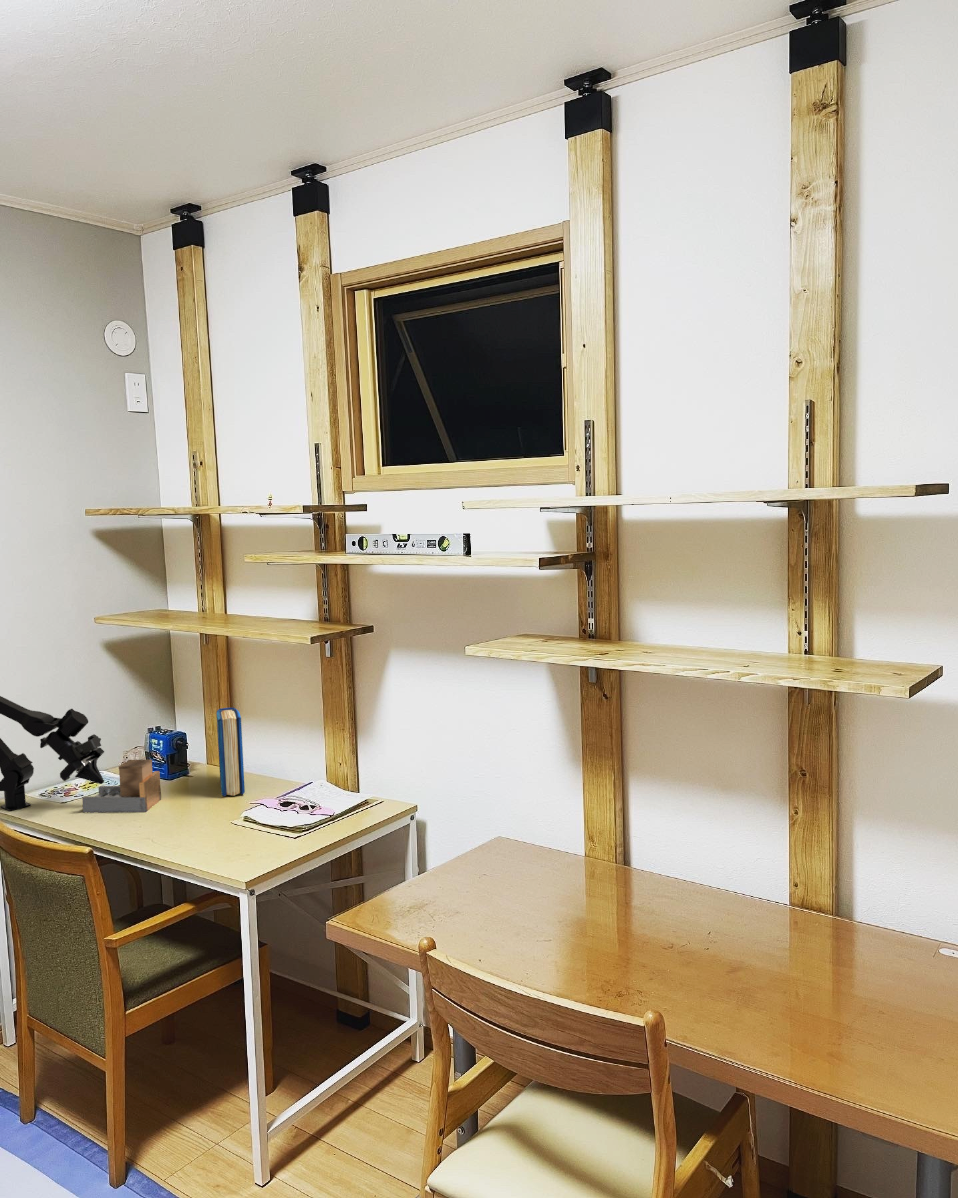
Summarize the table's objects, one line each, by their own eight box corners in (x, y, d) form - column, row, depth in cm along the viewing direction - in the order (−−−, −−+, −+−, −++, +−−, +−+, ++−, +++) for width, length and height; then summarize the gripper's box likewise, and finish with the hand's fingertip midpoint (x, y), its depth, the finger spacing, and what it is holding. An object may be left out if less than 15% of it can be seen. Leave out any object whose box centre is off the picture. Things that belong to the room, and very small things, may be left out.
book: (219, 779, 316) (215, 705, 313) (241, 777, 318) (237, 703, 315) (221, 798, 295) (217, 719, 293) (245, 796, 297) (241, 717, 295)
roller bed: (83, 812, 285) (81, 783, 284) (101, 800, 296) (99, 771, 296) (145, 812, 284) (144, 782, 283) (161, 799, 295) (159, 771, 295)
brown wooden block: (120, 799, 286) (118, 766, 285) (131, 791, 294) (129, 759, 293) (143, 799, 286) (141, 766, 285) (153, 791, 293) (151, 759, 292)
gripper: (67, 736, 279) (106, 773, 279) (96, 721, 297) (133, 756, 298) (43, 762, 280) (82, 799, 281) (73, 746, 299) (109, 781, 299)
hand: (102, 783), depth 290 cm, fingers closed
